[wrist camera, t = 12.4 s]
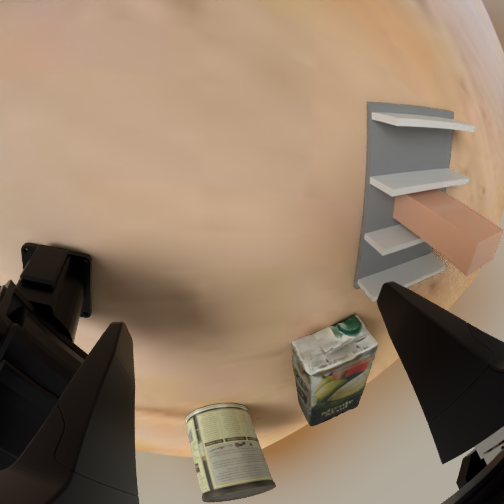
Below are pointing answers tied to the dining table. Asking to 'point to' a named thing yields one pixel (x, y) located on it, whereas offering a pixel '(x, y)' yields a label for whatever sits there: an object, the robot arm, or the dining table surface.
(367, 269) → the rack
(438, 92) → the dining table surface
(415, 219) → the salmon rectangular block
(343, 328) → the juice carton
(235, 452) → the coffee can
